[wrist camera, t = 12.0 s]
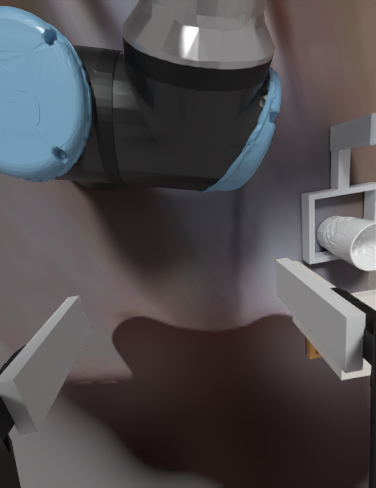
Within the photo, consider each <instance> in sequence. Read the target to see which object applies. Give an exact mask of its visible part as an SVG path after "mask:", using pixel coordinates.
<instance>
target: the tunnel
mask: <svg viewBox="0 0 376 488" xmlns="http://www.w3.org/2000/svg"><path fill="white" fill-rule="evenodd" d="M292 262H294V263H295V264H296V265H298V266H299V267H301V268H302V269H303V270H305V271H306V272H308V273H309V274H310V275H312V276H313V277H315V278H316V279H317V280H319V281H320V282H322V283H323V284H324V285H326V286H327V287H329V288H334V287H335V286H334V285H332V284H331V283H329V282H328V281H326V280H325V279H323V278H322V277H320V276H319V275H317V274H316V273H314V272H313V271H312V270H310V269H309V268H307V267H306V266H304V265H303V264H301V263H300V262H298V261H292ZM351 294H352V295H353V296H354V297H356V298H358V299H359V300H361V302H364V303H365V304H367V305H368V306H370V307H371V308H373V309H374V310H376V270H375V271H369V274H368V289H367V291H363V292H357V293H351ZM293 322H294V323H295V324H296V326H297V327H298V328H299V329H300V331H301V332H302V333H303V334H304V335H305V337H306V338H307V339H308V340H309V341H310V343H311V344H312V345H313V346H314V347H315V349H316V350H317V351H318V352H319V354H320V355H321V356H322V357H323V358H324V360H325V361H326V362H327V363H328V364H329V366H330V367H331V368H332V369H333V370H334V372H335V373H336V374H337V375H338V376H339V378H340V379H341V380H345V379H349V378H356V377H361V376H367V375H371V365H370V364H369V363H368V362H367V361H366V360H365V359H364V358H363V370H360V371H355V372H349V373H344V371H343V370H342V369H341V368H340V367H339V366H338V365H337V363H336V362H335V361H334V360H333V359H332V358H331V357H330V355H329V354H328V353H327V352H326V351H325V350H324V349H323V347H322V346H321V345H320V344H319V343H318V342H317V341H316V339H315V338H314V337H313V336H312V335H311V334H310V333H309V331H308V330H307V329H306V328H305V327H304V326H303V325H302V323H301V322H300V321H299V320H298V319H297V318H296V317H295V315H294V314H293Z"/></svg>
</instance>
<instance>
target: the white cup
mask: <svg viewBox="0 0 376 488" xmlns="http://www.w3.org/2000/svg"><path fill="white" fill-rule="evenodd" d="M317 240H318V242H319V244H320V245H321V246H322V247H324V248H325V249H327V250H329V251H330V252H331V253H333V254H334V255H336V256H338V257H339V258H341V259H343V260H345V261H346V262H348V263H350V264H352V265H354V266H355V267H357V268H359V269H361V270H364V271H375V270H376V221H374V220H367V219H361V218H355V217H343V216H332V217H329V218H327V219H326V220H324V221H323V222H322V223H321V224H320V226H319V228H318V230H317Z"/></svg>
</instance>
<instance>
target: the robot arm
mask: <svg viewBox="0 0 376 488" xmlns="http://www.w3.org/2000/svg"><path fill="white" fill-rule="evenodd" d="M266 2H267V0H139V2H138V3H137V5H136V6H135V8H134V9H133V11H132V12H131V13H130V15H129V16H128V18H127V19H126V21H125V22H124V24H123V25H122V35H123V45H124V51H119V50H111V49H104V48H95V47H87V46H79V45H72V44H70V42H69V41H68V40H67V39H66V37H65V36H64V35H62V34H61V33H60V32H58V31H57V29H56V28H55V27H53V26H52V25H50V24H49V23H46V22H45V21H43V20H42V19H40V18H38V17H37V16H35V15H33V14H31V13H29V12H27V11H24V10H21V9H18V8H14V7H8V6H0V172H1V173H3V174H6V175H8V176H12V177H15V178H21V179H24V180H28V181H32V182H45V181H48V180H51V179H53V180H72V181H74V182H76V183H78V184H80V185H82V186H85V187H88V188H93V189H109V188H114V187H118V186H120V185H122V184H126V185H135V186H147V187H159V188H171V189H183V190H196V191H198V192H209V191H232V190H235V189H238V188H240V187H241V186H242V185H244V184H245V183H246V182H247V181H248V180H249V179H250V178H251V177H252V176H253V175H254V173H255V172H256V170H257V169H258V167H259V166H260V164H261V162H262V160H263V159H264V156H265V154H266V152H267V150H268V148H269V146H270V143H271V140H272V138H273V135H274V131H275V128H276V126H275V125H274V121H275V119H276V117H277V115H278V114H279V111H280V105H281V96H282V89H281V81H280V79H279V76H278V74H277V73H276V72H275V71H274V70H273V69H272V68H271V67H270V64H271V61H272V58H273V55H274V50H275V46H274V44H273V41H272V38H271V36H270V33H269V31H268V28H267V26H266V23H265V18H264V9H265V6H266ZM276 274H277V289H278V297H279V298H280V299H281V300H282V302H283V303H284V304H285V305H286V306H287V307H288V308H289V310H290V311H291V312H292V313H293V314H294V315H295V317H296V318H297V319H298V320H299V321H300V322H301V323H302V325H303V326H304V327H305V328H306V329H307V330H308V331H309V333H310V334H311V335H312V336H313V337H314V338H315V339H316V341H317V342H318V343H319V344H320V345H321V346H322V347H323V349H324V350H325V351H326V352H327V353H328V354H329V355H330V357H331V358H332V359H333V360H334V361H335V362H336V363H337V365H338V366H339V367H340V368H341V369H342V370H343V371H344V373H349V372H355V371H360V370H363V358H364V359H365V360H366V361H367V362H368V363H369V364H370V365H371V378H370V387H371V392H370V393H371V394H370V442H369V488H376V310H374V309H373V308H371V307H370V306H368V305H367V304H365V303H364V302H361V300H359V299H358V298H356V297H354V296H353V295H352V294H350V293H349V292H347V291H345V290H342V289H339V288H337V287H334V288H329V287H327V286H326V285H324V284H323V283H322V282H320V281H319V280H317V279H316V278H315V277H313V276H312V275H310V274H309V273H308V272H306V271H305V270H303V269H302V268H301V267H299V266H298V265H296V264H295V263H294V262H292V261H291V260H289V259H288V258H282V259H277V260H276ZM90 332H91V329H90V326H89V323H88V320H87V317H86V314H85V311H84V308H83V305H82V302H81V299H80V296H74V297H68V298H67V299H66V300H65V301H64V302H63V304H62V305H61V306H60V307H59V308H58V309H57V310H56V312H55V313H54V314H53V315H52V316H51V317H50V318H49V320H48V321H47V322H46V323H45V324H44V325H43V327H42V328H41V329H40V330H39V331H38V332H37V333H36V335H35V336H34V337H33V338H32V339H31V340H30V341H29V343H28V344H27V345H24V346H23V347H22V348H20V349H19V350H18V351H17V352H15V353H14V354H13V355H12V356H11V357H10V359H9V360H8V361H7V363H5V364H4V365H3V367H2V368H1V370H0V488H21V487H20V482H19V477H18V472H17V467H16V461H15V457H14V452H13V446H12V441H11V439H10V437H9V435H8V433H9V432H10V430H11V428H12V427H13V425H15V427H16V428H17V430H18V432H19V434H20V435H21V434H26V433H31V432H36V431H38V430H39V428H40V426H41V424H42V423H43V421H44V419H45V417H46V415H47V413H48V411H49V409H50V407H51V406H52V404H53V402H54V400H55V398H56V396H57V394H58V392H59V391H60V389H61V387H62V385H63V383H64V381H65V379H66V377H67V375H68V374H69V372H70V370H71V368H72V366H73V364H74V362H75V360H76V358H77V357H78V355H79V353H80V351H81V349H82V347H83V345H84V343H85V342H86V340H87V338H88V336H89V334H90Z"/></svg>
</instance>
